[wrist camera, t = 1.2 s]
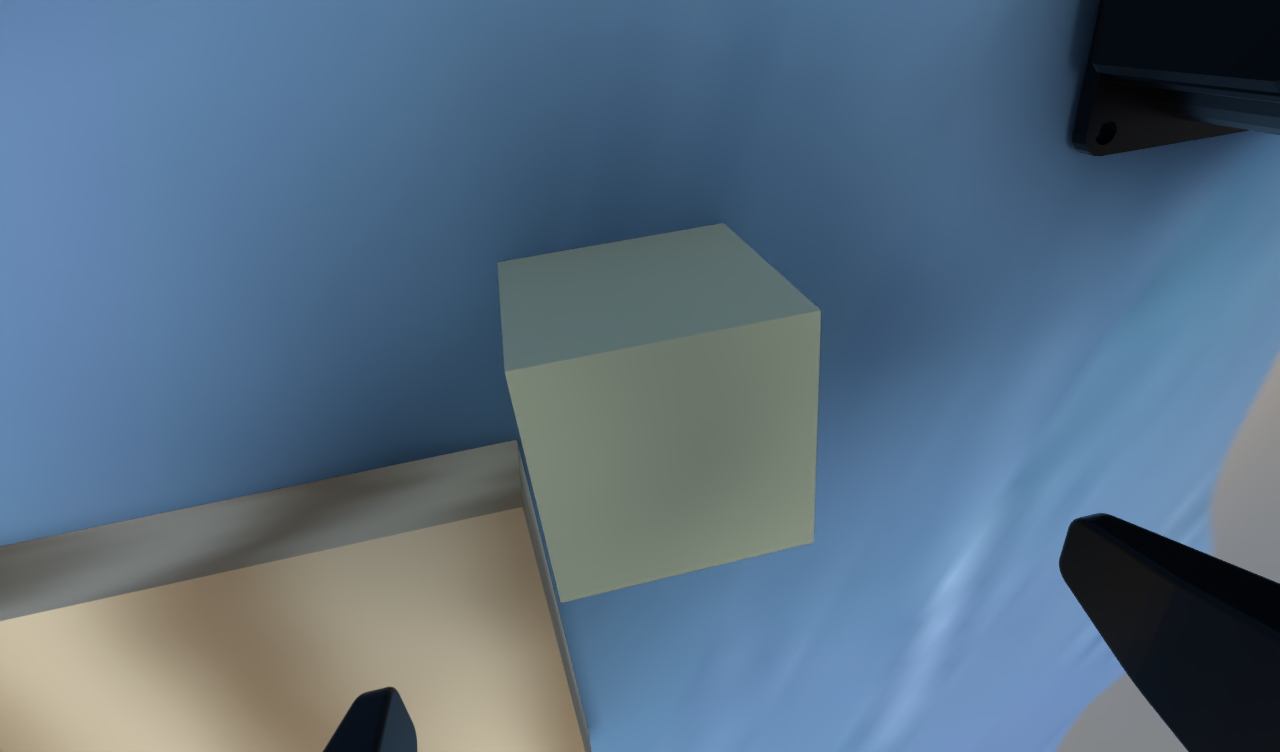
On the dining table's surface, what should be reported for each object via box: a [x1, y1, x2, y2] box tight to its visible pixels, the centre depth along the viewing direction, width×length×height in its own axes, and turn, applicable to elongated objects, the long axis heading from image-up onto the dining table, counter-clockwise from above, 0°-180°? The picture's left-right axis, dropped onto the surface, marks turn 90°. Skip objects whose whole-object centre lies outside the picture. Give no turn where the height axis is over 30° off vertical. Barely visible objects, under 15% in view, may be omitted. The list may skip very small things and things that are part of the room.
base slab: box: [0, 440, 591, 752], centre depth 18 cm, size 12×12×3 cm
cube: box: [497, 223, 821, 603], centre depth 14 cm, size 5×5×5 cm
